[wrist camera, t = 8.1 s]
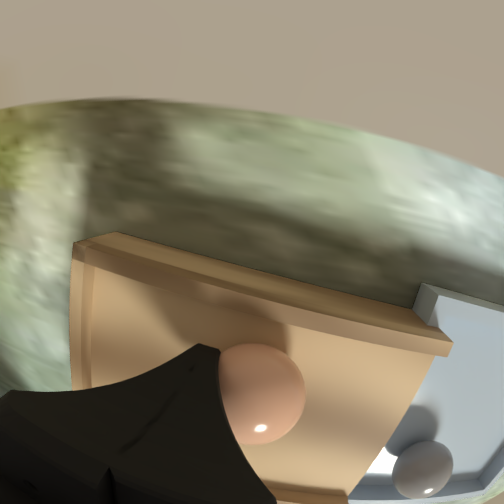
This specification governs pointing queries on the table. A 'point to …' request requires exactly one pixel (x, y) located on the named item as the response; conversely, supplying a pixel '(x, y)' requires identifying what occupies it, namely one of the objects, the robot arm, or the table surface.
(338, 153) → the table surface
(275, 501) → the robot arm
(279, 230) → the table surface
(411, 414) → the ceramic dish
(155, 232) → the table surface
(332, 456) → the oak tray
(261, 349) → the pebble terracotta
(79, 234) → the table surface
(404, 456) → the pebble grey
